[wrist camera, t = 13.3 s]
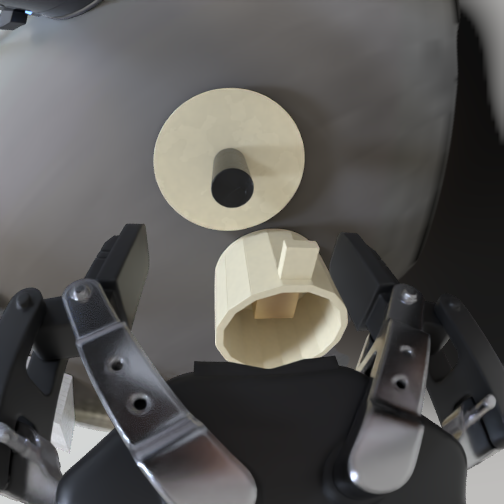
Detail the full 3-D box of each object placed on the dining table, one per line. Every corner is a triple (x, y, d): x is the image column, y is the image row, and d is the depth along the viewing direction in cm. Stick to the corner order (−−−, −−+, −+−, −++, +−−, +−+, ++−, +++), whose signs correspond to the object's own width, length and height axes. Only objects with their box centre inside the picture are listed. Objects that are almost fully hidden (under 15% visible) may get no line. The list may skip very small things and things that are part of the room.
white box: (75, 421, 52) (69, 453, 43) (42, 406, 49) (34, 438, 40) (72, 375, 38) (60, 424, 29) (25, 353, 35) (8, 399, 26)
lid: (158, 223, 25) (141, 269, 19) (158, 87, 18) (131, 86, 12) (289, 227, 26) (309, 273, 20) (311, 98, 20) (347, 103, 14)
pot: (213, 327, 33) (215, 386, 26) (218, 198, 24) (218, 251, 17) (302, 326, 35) (318, 380, 28) (337, 207, 26) (377, 255, 19)
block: (249, 292, 30) (253, 319, 26) (253, 262, 28) (257, 288, 24) (285, 291, 30) (293, 317, 27) (291, 262, 28) (301, 287, 25)
